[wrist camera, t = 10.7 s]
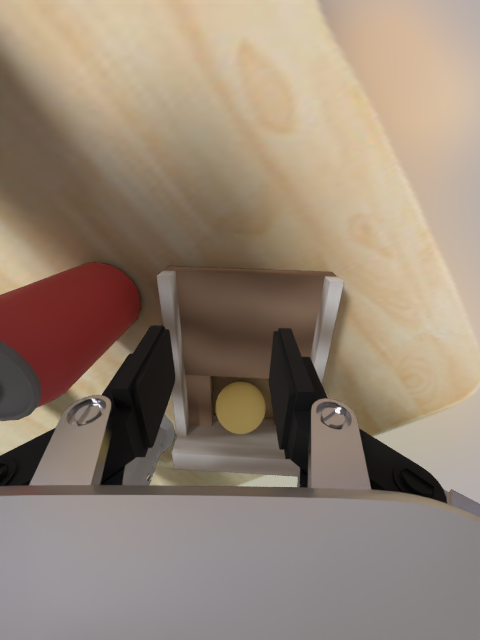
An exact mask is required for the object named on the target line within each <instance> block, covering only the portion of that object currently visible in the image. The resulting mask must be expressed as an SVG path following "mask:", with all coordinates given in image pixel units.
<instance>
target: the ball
mask: <svg viewBox="0 0 480 640" xmlns="http://www.w3.org/2000/svg"><path fill="white" fill-rule="evenodd" d="M216 415H217V418H218V420H219V422H220V423H221V425H222V426H223V427H224V428H225V429H227V430H228V431H230V432H232V433H235V434H246V433H249V432H251V431H253V430H255V429H256V428H257V427H258V426H259V425H260V424H261V422H262V420H263V418H264V415H265V400H264V397H263V395H262V393H261V392H260V390H259V389H258V388H257V387H255V386H254V385H253V384H251V383H248V382H245V381H236V382H233V383H230V384H228V385H227V386H226V387H224V388H223V389H222V391H221V392H220V393H219V395H218V398H217V401H216Z"/></svg>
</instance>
